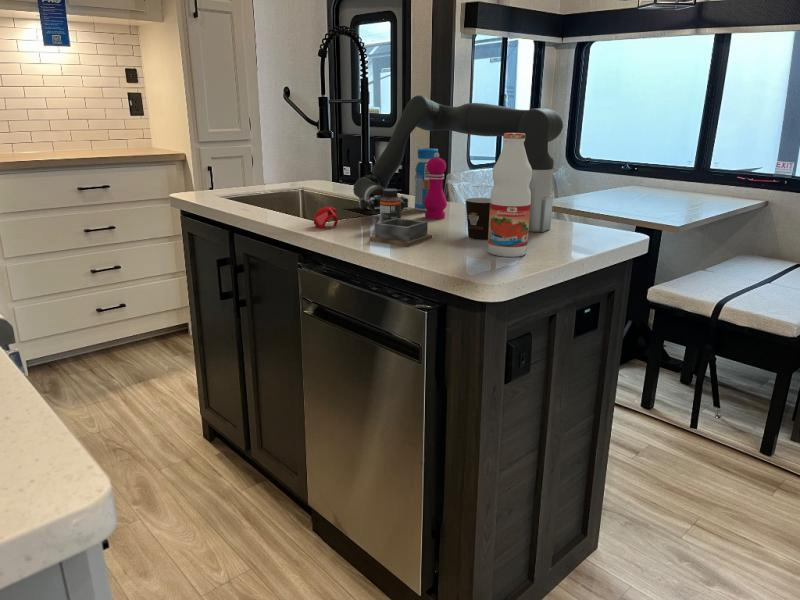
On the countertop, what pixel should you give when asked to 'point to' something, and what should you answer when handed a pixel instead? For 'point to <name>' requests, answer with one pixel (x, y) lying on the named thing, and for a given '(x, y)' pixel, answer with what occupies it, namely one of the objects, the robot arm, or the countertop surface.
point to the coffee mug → (478, 218)
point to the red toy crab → (325, 216)
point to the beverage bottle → (422, 176)
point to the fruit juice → (510, 199)
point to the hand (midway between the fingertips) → (388, 206)
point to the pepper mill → (435, 189)
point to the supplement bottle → (390, 205)
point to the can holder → (401, 232)
